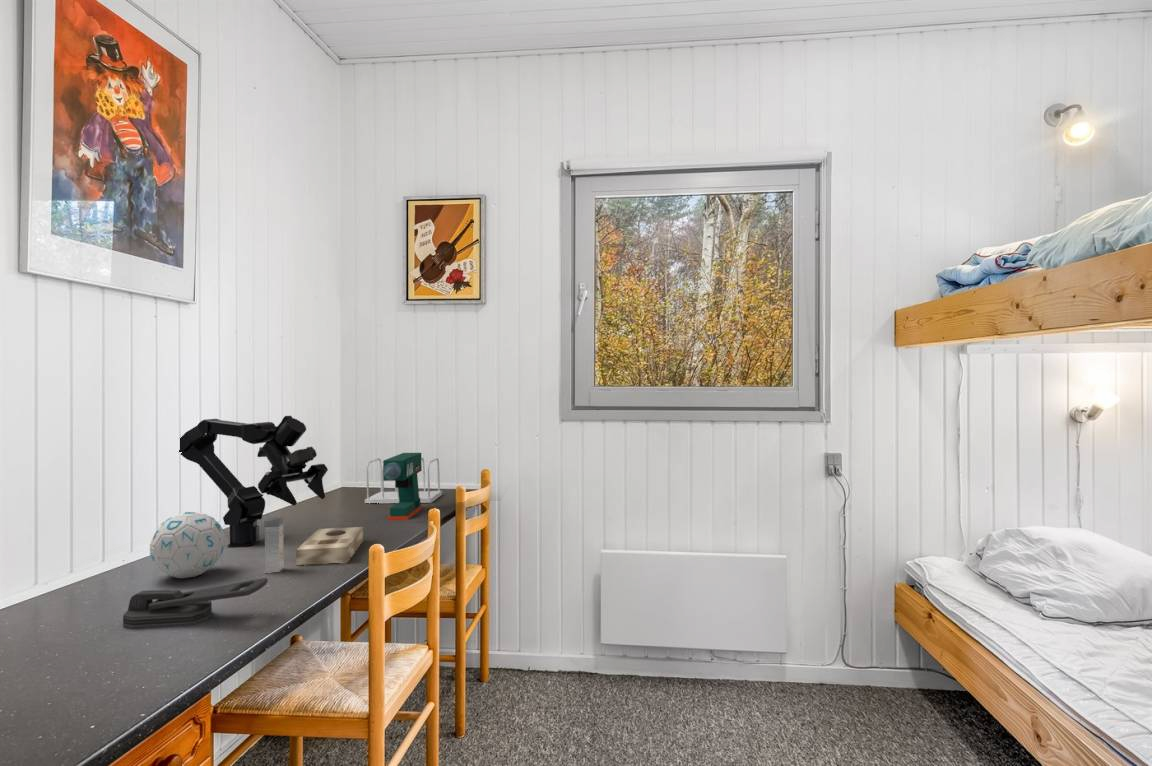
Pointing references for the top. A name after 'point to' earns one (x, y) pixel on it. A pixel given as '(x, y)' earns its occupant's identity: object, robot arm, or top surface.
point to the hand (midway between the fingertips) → (310, 501)
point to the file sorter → (394, 496)
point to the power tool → (404, 483)
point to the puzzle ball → (187, 544)
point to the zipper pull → (181, 604)
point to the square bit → (274, 545)
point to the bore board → (330, 546)
